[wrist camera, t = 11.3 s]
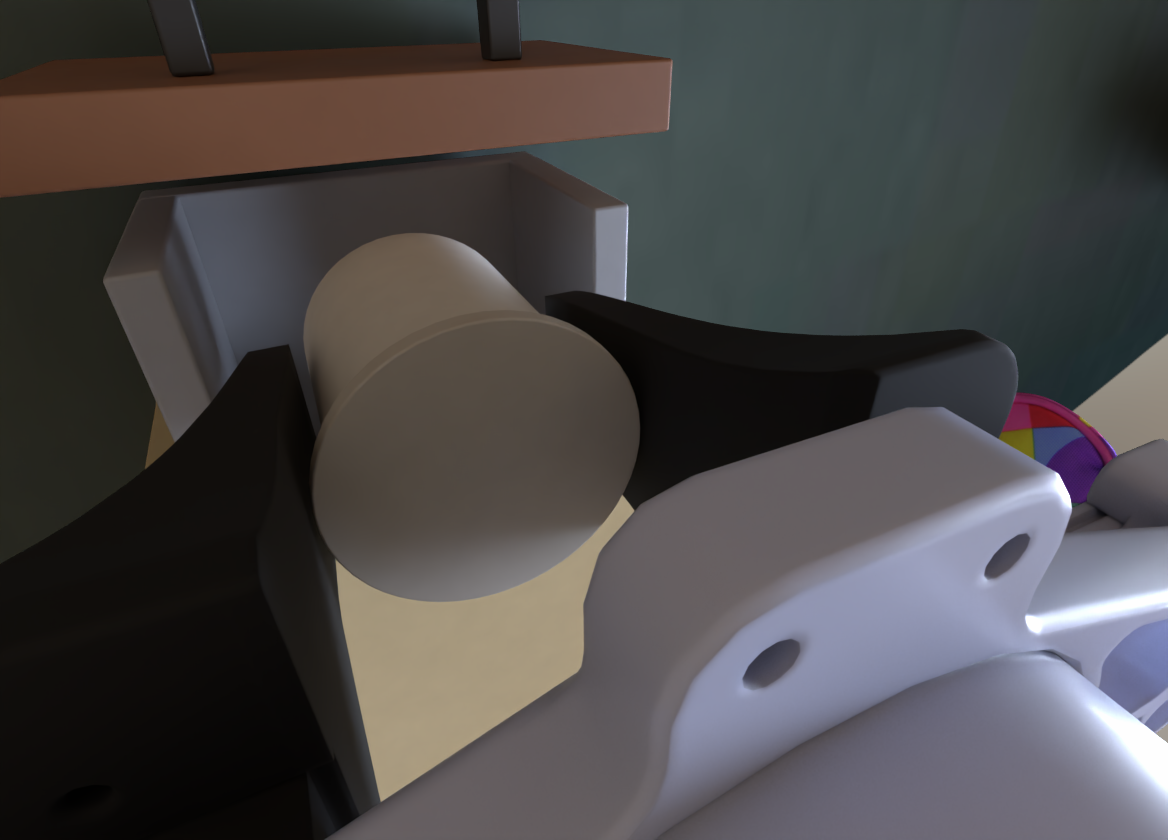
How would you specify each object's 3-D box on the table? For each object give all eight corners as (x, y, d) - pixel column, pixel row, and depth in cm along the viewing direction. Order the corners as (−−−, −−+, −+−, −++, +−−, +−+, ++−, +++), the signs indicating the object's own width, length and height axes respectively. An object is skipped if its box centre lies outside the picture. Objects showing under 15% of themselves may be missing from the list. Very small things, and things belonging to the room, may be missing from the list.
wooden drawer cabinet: (159, 373, 17) (123, 582, 11) (559, 297, 21) (695, 420, 15) (292, 682, 25) (314, 909, 19) (569, 583, 29) (662, 742, 23)
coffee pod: (289, 445, 12) (314, 631, 9) (278, 203, 10) (306, 315, 7) (512, 429, 15) (607, 574, 11) (542, 224, 12) (673, 319, 9)
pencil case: (859, 485, 35) (1014, 604, 28) (988, 355, 34) (1181, 446, 27) (955, 599, 49) (1074, 697, 42) (1048, 510, 48) (1185, 596, 41)
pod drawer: (-99, -303, 10) (-400, -579, 5) (531, -230, 14) (698, -354, 9) (243, 529, 20) (248, 702, 15) (558, 443, 23) (645, 559, 18)
